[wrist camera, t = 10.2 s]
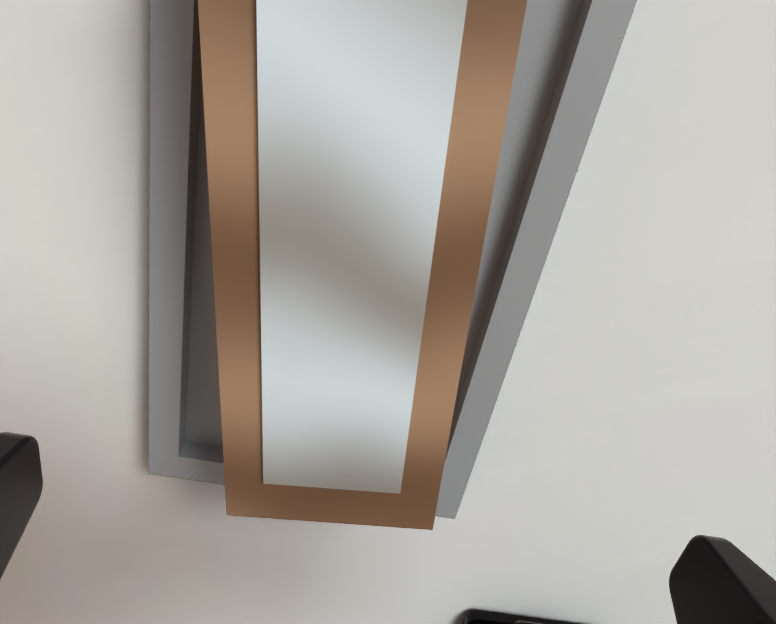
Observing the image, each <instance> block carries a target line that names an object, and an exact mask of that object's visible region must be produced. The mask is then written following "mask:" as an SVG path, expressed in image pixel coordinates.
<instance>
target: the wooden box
mask: <svg viewBox="0 0 776 624" xmlns="http://www.w3.org/2000/svg"><path fill="white" fill-rule="evenodd" d="M526 5H527V0H198V12H199V29H200V47H201V65H202V83H203V101H204V119H205V136H206V154H207V172H208V190H209V208H210V226H211V243H212V261H213V279H214V297H215V315H216V333H217V350H218V368H219V386H220V404H221V422H222V440H223V457H224V475H225V493H226V511H227V515H232V516H246V517H260V518H274V519H288V520H302V521H316V522H330V523H344V524H358V525H372V526H386V527H400V528H414V529H428V530H433V524H434V519H435V513H436V507H437V502H438V496H439V491H440V485H441V479H442V474H443V468H444V463H445V457H446V452H447V446H448V440H449V435H450V429H451V424H452V418H453V412H454V407H455V401H456V396H457V390H458V385H459V379H460V373H461V368H462V362H463V357H464V351H465V345H466V340H467V334H468V329H469V323H470V318H471V312H472V306H473V301H474V295H475V290H476V284H477V278H478V273H479V267H480V262H481V256H482V251H483V245H484V239H485V234H486V228H487V223H488V217H489V211H490V206H491V200H492V195H493V189H494V184H495V178H496V172H497V167H498V161H499V156H500V150H501V144H502V139H503V133H504V128H505V122H506V117H507V111H508V105H509V100H510V94H511V89H512V83H513V77H514V72H515V66H516V61H517V55H518V50H519V44H520V38H521V33H522V27H523V22H524V16H525V10H526Z"/></svg>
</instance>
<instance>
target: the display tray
mask: <svg viewBox="0 0 776 624" xmlns="http://www.w3.org/2000/svg"><path fill="white" fill-rule="evenodd" d="M636 2H637V0H527V5H526V10H525V16H524V22H523V27H522V33H521V38H520V44H519V50H518V55H517V61H516V66H515V72H514V77H513V83H512V89H511V94H510V100H509V105H508V111H507V117H506V122H505V128H504V133H503V139H502V144H501V150H500V156H499V161H498V167H497V172H496V178H495V184H494V189H493V195H492V200H491V206H490V211H489V217H488V223H487V228H486V234H485V239H484V245H483V251H482V256H481V262H480V267H479V273H478V278H477V284H476V290H475V295H474V301H473V306H472V312H471V318H470V323H469V329H468V334H467V340H466V345H465V351H464V357H463V362H462V368H461V373H460V379H459V385H458V390H457V396H456V401H455V407H454V412H453V418H452V424H451V429H450V435H449V440H448V446H447V452H446V457H445V463H444V468H443V474H442V479H441V485H440V491H439V496H438V502H437V507H436V513H435V516H438V517H444V518H451V519H455V517H456V514H457V511H458V508H459V506H460V503H461V500H462V497H463V494H464V491H465V488H466V486H467V483H468V480H469V477H470V474H471V471H472V469H473V466H474V463H475V460H476V457H477V454H478V451H479V449H480V446H481V443H482V440H483V437H484V434H485V432H486V429H487V426H488V423H489V420H490V417H491V414H492V412H493V409H494V406H495V403H496V400H497V397H498V394H499V392H500V389H501V386H502V383H503V380H504V377H505V375H506V372H507V369H508V366H509V363H510V360H511V357H512V355H513V352H514V349H515V346H516V343H517V340H518V338H519V335H520V332H521V329H522V326H523V323H524V320H525V318H526V315H527V312H528V309H529V306H530V303H531V301H532V298H533V295H534V292H535V289H536V286H537V283H538V281H539V278H540V275H541V272H542V269H543V266H544V264H545V261H546V258H547V255H548V252H549V249H550V246H551V244H552V241H553V238H554V235H555V232H556V229H557V227H558V224H559V221H560V218H561V215H562V212H563V209H564V207H565V204H566V201H567V198H568V195H569V192H570V190H571V187H572V184H573V181H574V178H575V175H576V172H577V170H578V167H579V164H580V161H581V158H582V155H583V153H584V150H585V147H586V144H587V141H588V138H589V135H590V133H591V130H592V127H593V124H594V121H595V118H596V115H597V113H598V110H599V107H600V104H601V101H602V98H603V96H604V93H605V90H606V87H607V84H608V81H609V78H610V76H611V73H612V70H613V67H614V64H615V61H616V59H617V56H618V53H619V50H620V47H621V44H622V41H623V39H624V36H625V33H626V30H627V27H628V24H629V22H630V19H631V16H632V13H633V10H634V7H635V4H636ZM149 474H155V475H161V476H168V477H175V478H182V479H188V480H195V481H202V482H209V483H215V484H222V485H225V475H224V457H223V440H222V422H221V404H220V386H219V368H218V350H217V333H216V315H215V297H214V279H213V261H212V243H211V226H210V208H209V190H208V172H207V154H206V136H205V119H204V101H203V83H202V65H201V47H200V29H199V12H198V0H150V159H149Z"/></svg>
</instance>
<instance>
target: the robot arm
mask: <svg viewBox="0 0 776 624" xmlns="http://www.w3.org/2000/svg"><path fill="white" fill-rule="evenodd" d="M42 486H43V480H42V471H41V463H40V454H39V446H38V442H37V440H36V439H35V438H34V437H32V436H29V435H22V434H15V433H8V432H2V433H0V579H1V577H2V575H3V573H4V571H5V569H6V567H7V565H8V563H9V561H10V559H11V557H12V554H13V552H14V550H15V548H16V546H17V544H18V542H19V540H20V538H21V536H22V534H23V532H24V530H25V528H26V526H27V524H28V522H29V520H30V518H31V515H32V513H33V511H34V509H35V507H36V505H37V503H38V501H39V498H40V495H41V492H42ZM669 589H670V594H671V598H672V603H673V607H674V612H675V616H676V620H677V624H776V581H775V580H774V579H773V578H772V577H771V576H770V575H768V574H767V573H766V572H765V571H764V570H763V569H761V568H760V567H759V566H758V565H757V564H756V563H754V562H753V561H752V560H751V559H750V558H748V557H747V556H746V555H745V554H744V553H743V552H741V551H740V550H739V549H738V548H737V547H736V546H734V545H733V544H732V543H731V542H729V541H728V540H726V539H723V538H718V537H712V536H705V535H697V536H695V537H693V538H692V539H691V540H690V541H689V543H688V545H687V546H686V548H685V549H684V551H683V553H682V554H681V556H680V558H679V559H678V561H677V562H676V564H675V566H674V567H673V569H672V571H671V574H670V578H669ZM462 624H573V623H566V622H559V621H551V620H544V619H537V618H529V617H522V616H515V615H507V614H500V613H493V612H485V611H471V612H469V613H467V614H466V616H465V618H464V620H463V623H462Z"/></svg>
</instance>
